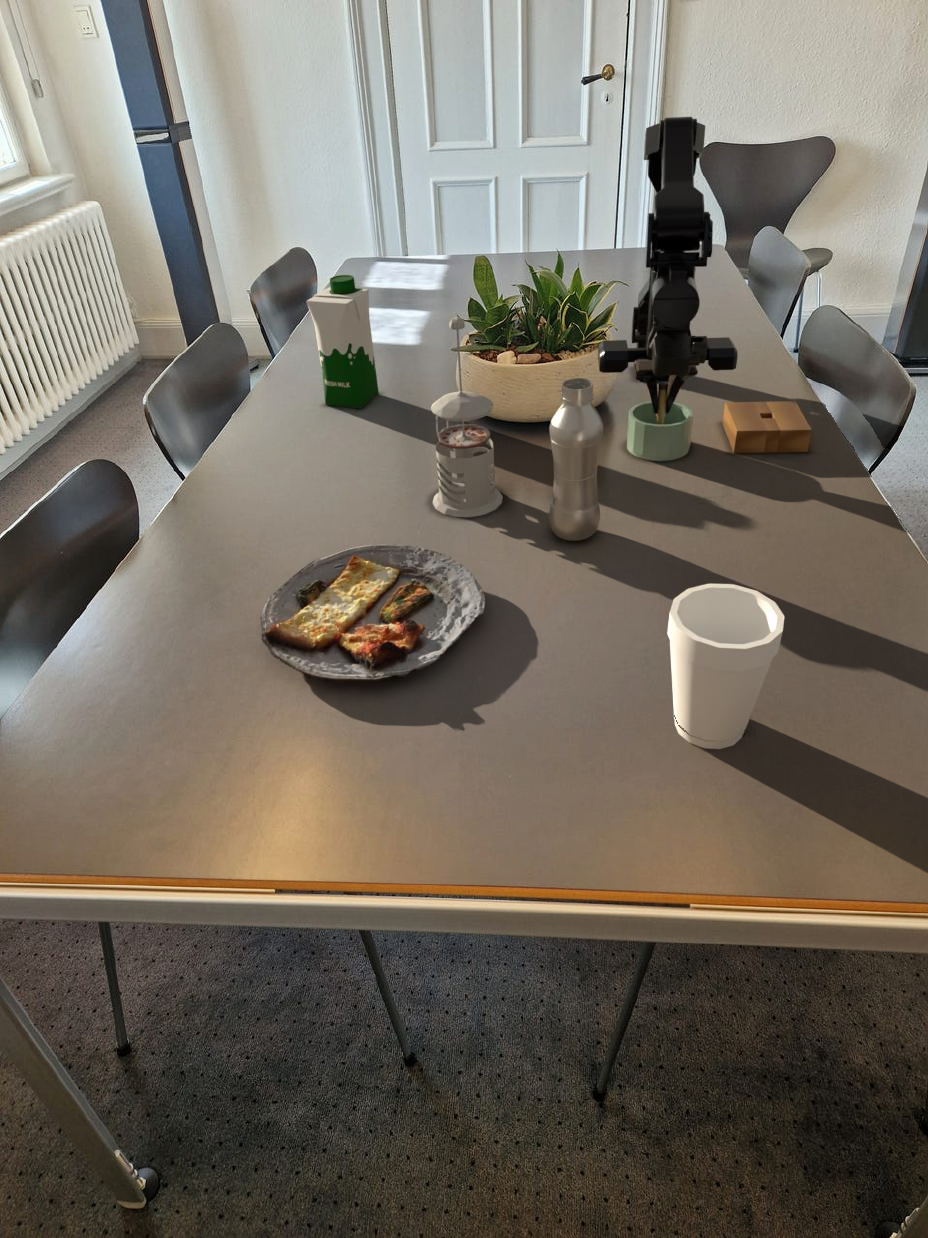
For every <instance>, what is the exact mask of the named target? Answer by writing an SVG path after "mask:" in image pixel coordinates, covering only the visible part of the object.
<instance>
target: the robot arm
mask: <svg viewBox="0 0 928 1238" xmlns="http://www.w3.org/2000/svg"><path fill="white" fill-rule="evenodd" d="M705 136H706V125H705V124H703V123H700V122H698V118H694V117H693V116H675V117H674V116H671V117H664V119H660V120H659V122H658V123H654V124H653V125H651V126H648V127H646V128H645V132H644V144H643V161H647V177H648V179H649V181H650V183H651V185H652V187H653V188H654V191H655V195H654V198H653V209H652V210H653V211H652V212H648V213H647V222H646V236H645V237H646V238H645V239H646V240H645V241H646V243H645V268H646V269H648V268H649V273H648V274H649V275H648V280H647V281H646V282H645V284H644V285H643V286H642V288H641V290H639V292H638V296H637V297H638V298H637V306H633V308H632V309H633V310H632V320H631V344H635V345H636V346H635V347H629V346H628V342H627V339H614V340H613V339H611V340H602V341H601V342H600V343H599V344H598V349H597V361H598V363H597V364H598V371H599V372H600V373H603V374H617V373H619V374H620V373H623V372H625V370H626V369H628V368H629V363H633V373H634V377H635V378H634V379H635V380H636V381H645V385H646V387H647V390H648V393H649V396H650V401H652V406H653V410H654V413H655V414H657V410H658V380H668V381H667V382H668V392H667V403H666V413H669V411H670V409H671V407H672V405H673V402H675V400H676V398H677V396H678V395H679V392H680V390H681V388H682V386H683V385H684V383H685V382H686V381H687V380H688V379H689V378H690V377H696V376H697V375H698V373H699V371H698V368H697V366H700V364H703V365H704V364H705V363H706V361H707V365H708V366H709V367H710V368H711V370H713V371H733V370H735V369H737V363H738V357H739V356H738V350H737V348H736V345H735V343H734V342H733V340H732V339H731V338H730V337H729V336H726V337H725V336H724V337H708V336H707V335H692V332H691V321H693V320H694V318H695V317H696V316H697V314H698V312H699V309H700V301H701V300H700V295H699V291H698V288H697V287H698V286H697V283H696V279H695V278H696V269H697V268H703V267H704V268H705V267H707V266H708V258H712V254H713V234H714V233H713V232H714V231H713V230H714V229H713V228H714V221H713V220H712V219H711V213H710V211H705V196H704V194H703V193H702V192H701V191H700V190H699V189H697V188H696V187H695V183H694V182H695V180H694V178H695V174H696V169H697V162H698V159H701V158H702V157H703V155H704V151H705ZM700 248H701V249H700ZM699 250H700V251H701V252H700V251H699ZM700 254H701V256H700Z"/></svg>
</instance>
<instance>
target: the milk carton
mask: <svg viewBox="0 0 928 1238" xmlns="http://www.w3.org/2000/svg"><path fill="white" fill-rule="evenodd" d="M369 291H370V290H369V289H367V288H366V289H363V288H362V287H361V288H358V287H356V282H355V277H354V275H350V274H341V275H339V274H338V275H334V276H332V277H330V278H329V287H327V288H326V289H324V290H321V291H320V292H318V293H315V294H314V295H313V297H311V298H308V299H307V300H306V304H307V307H308V310H309V313H310V316H311V318H312V322H313V325H314V329H315V336H316V343H317V348H318V355H319V362H320V368H321V375H322V383H323V384H322V385H323V393H324V405H325V406H332V407H341V408H349V409H350V408H351V409H359V410H360V409H362V408H364V406H365V405H367V404H368V403H369V402H371V401H372V400H373V399H374V398H375V397H376V396H378V395H379V384H378V375H377V369H376V360H375V352H374V345H373V343H374V342H373V336H372V335H373V334H372V326H371V318H370V293H369Z"/></svg>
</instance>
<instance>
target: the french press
mask: <svg viewBox="0 0 928 1238" xmlns="http://www.w3.org/2000/svg"><path fill="white" fill-rule="evenodd" d="M448 325H449V329H450V330H453V331H454V330H455V331H456V344H457V359H458V360H457V361H458V377H459V390H458V391H454V392H449V393H446V394H444V395H443V396H441V397H440V398H438V399H436V401H435V402H433V403H432V404H431V407H430V410H431V412H432V414H434V415H435V431H436V439H437V441H438V442H436V445H435V457H436V467H437V481H438V492H437V493H436V494H435V495H434V496H433V500H432V505H433V507H434V508H435V510H436V511H438V512H440V513H441V514H443V515H444V516H445V515H446V516H450V517H455V518H474V517H479V516H484V515H487V514H489V513H491V512H493V511H495V510H497V509H498V508H499V507H500V506H501V505H502V504H503V496H504V495H502V494H501V492H500V490H499V489H497V488H496V476H495V475H496V474H495V472H496V471H495V465H494V464H495V450H494V449H495V448H494V447H495V446H494V442H493V440H492V439H491V431H490V430H489V429H488V428H487V427H485V426H482V425H480V424H474V423H470V424H469V423H465V422H470V421H475V420H479V419H481V418H485V417H486V416H488V415H489V414H490V413H492V410H493V408H494V402H493V401H492V399H490V398H488V397H487V396H485V395H482V394H480V393H479V392H474V391H473V392H472V391H467V390H466V391H465V390H463V385H462V383H463V382H462V369H461V368H462V367H461V364H462V363H461V354H460V353H461V348H460V334H459V331H460V330H462V329H465V327H466V324H465V321H464V319H463V318H461V317H453V318H451V320H450V321H449V323H448ZM438 418H440V419H442V420H445V421H446V427H444V428H443V429H441V430H440V431H439V424H438V420H439V419H438ZM449 421H450V422H461V423H460V424H453V425H449V424H450V422H449ZM484 444H486V445H487V446H489V447H490V449H489V448H487V447H486V446H482V445H484ZM451 449H452V450H453V452H454V454H455V457H451V456H452V455H451ZM480 452H481V453H483V454H480V455H474V454H475V453H480ZM453 474H454V475H456V477H453Z"/></svg>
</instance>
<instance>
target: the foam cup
mask: <svg viewBox="0 0 928 1238" xmlns="http://www.w3.org/2000/svg"><path fill="white" fill-rule="evenodd" d="M784 624H785V615H784V613H783V611H782V610H781V609H780V607H779V606H778V604H777V602H775V601H774V600H772V599H771V598H769V597H767V596H766V595H764V594H763V593H762V592H760V591H758V590H755V589H751V588H748V587H744V586H741V585H737V584H733V583H705V584H701V585H697V586H694V587H693V586H692V587H689V588H687V589H685V590H684V591H682V592H681V593H679V595H677V596H676V597H674V598H673V600H672V603H671V607H670V610H669V615H668V623H667V637H668V639H669V647H670V648H669V650H670V651H669V652H670V667H671V669H670V670H671V684H672V686H671V687H672V703H673V719H674V726H675V728H676V731H677V733H678V735H680V736H681V737H682V738H683V739H684V740H685V741H687V742H688V743H689V744H692V745H694V746H696V747H699V748H702V749H710V750H722V749H727V748H729V747H732V746H735V745H736V743H738V742H739V741H740V740H741V739H742V738H743V735H744V733H745V732H746V729H747V727H748V725H749V722H750V720H751V716H752V713H753V711H754V709H755V707H756V704H757V701H758V699H759V696H760V694H761V691H762V689H763V686H764V683H765V681H766V678H767V676H768V673H769V670H770V669H771V665H772V663H773V660H774V658H775V657H776V656H777V655H778V654H779V650H780V645H781V641H782V636H783V631H784ZM674 715H675V717H676V719H675V717H674ZM676 720H677V722H678V724H677V722H676ZM678 725H680V726H681V727H682V728H684V730H686V731H687V732H688V733H689V734H690V735H693V736H696V737H700V738H702V739H705V740H714V741H715V740H718V741H723V740H727V739H731V738H735V737H737V738H736V739H733V740H729V741H726V742H722V743H720V742H705V741H702V740H699V739H697V738H694V737H691V736H689V735H688V734H687V733H686V732H684V731H683V730H682V729H681V728H680V727H679V726H678ZM744 730H745V731H744ZM743 731H744V732H743ZM742 732H743V733H742ZM741 733H742V734H741Z"/></svg>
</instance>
